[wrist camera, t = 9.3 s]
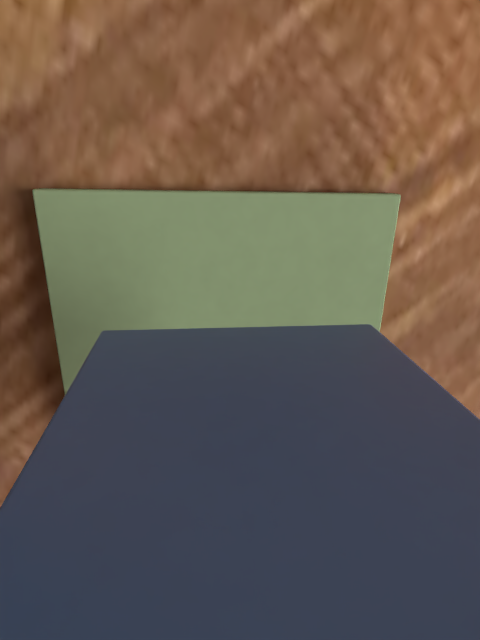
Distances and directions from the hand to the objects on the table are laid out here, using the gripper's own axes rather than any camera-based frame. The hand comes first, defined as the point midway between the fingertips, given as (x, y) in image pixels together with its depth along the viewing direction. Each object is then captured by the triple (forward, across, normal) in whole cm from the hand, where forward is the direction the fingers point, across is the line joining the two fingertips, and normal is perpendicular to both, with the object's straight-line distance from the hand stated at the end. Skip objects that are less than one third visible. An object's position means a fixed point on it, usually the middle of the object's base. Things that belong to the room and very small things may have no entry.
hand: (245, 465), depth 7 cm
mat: (+6, 0, 0) cm, 6 cm away
